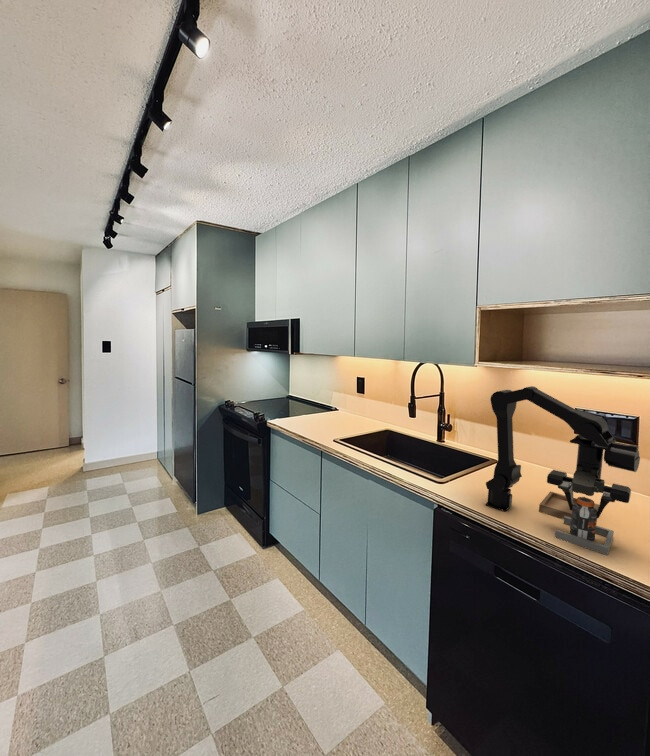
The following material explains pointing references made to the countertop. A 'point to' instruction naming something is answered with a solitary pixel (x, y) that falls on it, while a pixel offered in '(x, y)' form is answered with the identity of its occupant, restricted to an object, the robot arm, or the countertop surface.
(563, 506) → the tray
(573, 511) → the pill bottle
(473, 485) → the countertop surface
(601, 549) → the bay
